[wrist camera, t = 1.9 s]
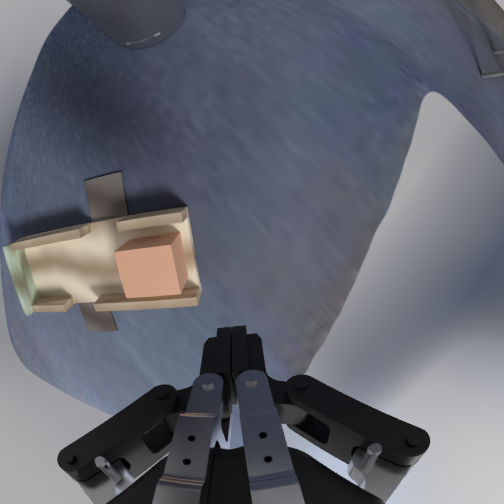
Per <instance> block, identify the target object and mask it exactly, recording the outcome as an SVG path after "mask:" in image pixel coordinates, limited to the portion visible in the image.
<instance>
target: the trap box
mask: <svg viewBox="0 0 504 504" xmlns="http://www.w3.org/2000/svg"><path fill="white" fill-rule="evenodd" d="M85 185H86V192H87V198H88V204H89V209H90V215H91V220H92V222H90V223H85V224H80V225H75V226H70V227H65V228H61V229H56V230H52V231H47V232H43V233H39V234H35V235H30V236H26V237H22V238H20V239H18V240H16V241H14V242H12V243H10V244H8V245H6V246H4V247H3V250H4V254H5V258H6V261H7V265H8V268H9V271H10V274H11V277H12V280H13V283H14V286H15V289H16V292H17V294H18V297H19V300H20V302H21V305H22V307H23V310H24V312H25V315H31V314H32V313H33V312H67V311H68V310H69V309H70V308H71V307H72V305H73V304H74V303H78V304H79V307H80V309H81V312H82V315H83V317H84V320H85V322H86V325H87V327H88V329H89V331H118V328H117V326H116V323H115V320H114V318H113V315H112V312H111V311H120V310H141V309H158V308H172V307H186V306H198V304H199V300H200V296H201V292H202V289H201V284H200V278H199V273H198V267H197V262H196V256H195V250H194V244H193V238H192V232H191V225H190V219H189V212H188V206H186V207H179V208H172V209H165V210H158V211H152V212H146V213H140V214H134V215H129V214H128V208H127V202H126V196H125V190H124V183H123V175H122V172H118V173H114V174H110V175H106V176H102V177H98V178H94V179H90V180H87V181H85ZM178 232H180V233H181V238H182V244H183V250H184V255H185V261H186V266H187V271H188V278H187V280H186V283H185V285H184V288H183V291H182V293H181V294H178V295H165V296H152V297H138V298H126V295H125V292H124V289H123V285H122V282H121V278H120V275H119V271H118V267H117V263H116V259H115V255H114V251H116V250H117V249H118V248H119V247H120V246H122V245H123V244H124V243H125V242H127V241H128V240H129V239H133V238H141V237H148V236H155V235H163V234H170V233H178Z"/></svg>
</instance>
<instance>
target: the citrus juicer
mask: <svg viewBox="0 0 504 504" xmlns="http://www.w3.org/2000/svg"><path fill="white" fill-rule="evenodd" d="M494 53H495V54H499V53H504V48H503V49H498V50H494ZM500 75H504V70H502V71H495V72H488V73H483V74H481V77H482V78H486V77H493V76H500Z"/></svg>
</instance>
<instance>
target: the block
mask: <svg viewBox="0 0 504 504" xmlns="http://www.w3.org/2000/svg"><path fill="white" fill-rule="evenodd" d="M114 255H115V259H116V263H117V267H118V271H119V275H120V278H121V282H122V285H123V289H124V292H125V295H126V298H138V297H152V296H165V295H178V294H181V293H182V291H183V288H184V285H185V283H186V280H187V278H188V271H187V266H186V261H185V255H184V250H183V244H182V238H181V233H180V232H178V233H170V234H163V235H155V236H148V237H141V238H133V239H129V240H128V241H127V242H125V243H124V244H123V245H122V246H120V247H119V248H118V249H117V250H116V251H114Z"/></svg>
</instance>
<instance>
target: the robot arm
mask: <svg viewBox="0 0 504 504" xmlns="http://www.w3.org/2000/svg"><path fill="white" fill-rule="evenodd" d="M67 1H68V2H69V3H70V4H72V5H73V6H74V7H75V8H77V9H78V10H79V11H80V12H82V13H83V14H84V15H85V16H86V17H88V18H89V19H90V20H91V21H92V22H94V23H95V24H96V25H97V26H98V27H99V28H101V29H102V30H103V31H104V32H105V33H106V34H107V35H109V36H110V37H111V38H112V39H113V40H114V41H115V42H117V43H118V44H119V45H120V46H122V47H125V48H129V49H141V48H146V47H149V46H152V45H155V44H157V43H159V42H161V41H163V40H164V39H166V38H167V37H169V36H170V35H171V34H172V33H174V32H175V31H176V30H177V28H178V27H179V26H180V25H181V23H182V21H183V19H184V16H185V12H186V11H185V4H184V1H183V0H67ZM237 399H238V403H239V408H240V422H241V429H242V436H243V443H244V446H243V447H239V448H235V449H230V436H231V425H232V414H231V413H232V405H233V404H237ZM160 421H161V422H160ZM159 422H160V423H159ZM281 423H282V424H287V426H288V427H289V428H290V429H291V430H293V431H294V432H296V433H297V434H299V435H300V436H302V437H303V438H305V439H307V440H308V441H310V442H311V443H313V444H314V445H316V446H318V447H319V448H321V449H323V450H324V451H326V452H328V453H330V454H331V455H333V456H334V457H336V458H338V459H340V460H342V461H343V462H345V463H347V464H349V465H348V475H349V476H350V477H351V479H353V480H354V481H355V482H356V483H357V484H358V486H357V485H355V484H353V483H351V482H350V481H348V480H347V479H345V478H343V477H342V476H340V475H339V474H337V473H335V472H334V471H332V470H331V469H329V468H328V467H326V466H324V465H323V464H321V463H320V462H318V461H317V460H316V459H314V458H313V457H311V456H310V455H308V454H306V453H305V452H303V451H300V450H298V449H295V448H291V447H287V443H286V440H285V436H284V432H283V429H282V425H281ZM156 424H157V425H156ZM155 425H156V426H155ZM152 427H153V428H152ZM151 428H152V429H151ZM147 431H148V432H147ZM146 432H147V433H146ZM429 444H430V437H429V435H428V433H427V432H426V431H425V430H423V429H421V428H419V427H416V426H414V425H411V424H409V423H407V422H404V421H402V420H399V419H397V418H395V417H392V416H390V415H388V414H385V413H383V412H381V411H379V410H377V409H374V408H372V407H370V406H368V405H366V404H364V403H362V402H360V401H358V400H355V399H354V398H351V397H349V396H347V395H345V394H343V393H341V392H339V391H337V390H335V389H334V388H332V387H330V386H327V385H326V384H324V383H322V382H320V381H318V380H316V379H314V378H313V377H311V376H308V375H296V376H293V377H291V378H290V379H288V380H287V382H285V381H277V380H274V379H272V378H271V377H269V376H268V375H267V373H266V368H265V361H264V354H263V347H262V340H261V338H260V337H259V336H258V334H257V333H255V334H247V330H246V325H244V326H234V327H232V328H231V327H223V328H218V329H217V337H213V338H208V340H207V341H206V342H205V343H204V348H203V355H202V362H201V369H200V376H198V377H197V378H196V379H195V380H194V382H193V385H192V386H190V387H188V388H185V389H181V390H177V391H176V389H175V388H174V387H173V386H171V385H159V386H156V387H154V388H153V389H151V390H150V391H149V392H147V393H146V394H144V395H143V396H142V397H140V398H139V399H137V400H136V401H134V402H133V403H132V404H130V405H129V406H127V407H126V408H124V409H123V410H122V411H120V412H119V413H117V414H116V415H114V416H113V417H111V418H110V419H108V420H107V421H105V422H104V423H103V424H101V425H99V426H98V427H96V428H95V429H93V430H92V431H90V432H89V433H87V434H86V435H84V436H83V437H81V438H79V439H78V440H76V441H75V442H73V443H71V444H70V445H69V446H67V447H65V448H64V449H62V450H61V451H60V452H59V455H58V458H57V461H58V464H59V466H60V467H61V468H62V469H63V470H64V471H65V472H66V473H67V474H69V475H70V476H71V478H72V479H74V480H75V481H76V482H78V483H79V484H80V486H81V487H82V488H83V490H84V491H85V493H86V494H87V495H88V497H89V498H90V499H91V501H92V502H93V503H94V504H385V502H386V501H387V500H388V498H389V497H390V496H391V494H392V493H393V492H394V490H395V489H396V488H397V486H398V485H399V483H400V482H401V480H402V479H403V478H404V476H405V475H406V474H407V473H408V472H409V471H410V470H411V469H412V467H413V466H414V465H415V464H416V463H417V462H418V460H419V459H420V458H421V457H422V455H423V454H424V453H425V452H426V450H427V449H428V447H429ZM168 452H169V455H168V456H166V457H165V458H164V459H162V460H160V461H159V462H158V463H157V464H156V465H155V466H153V467H152V468H151V469H150V470H149V471H147V472H146V473H145V474H144V475H142V476H141V477H140V478H139V479H138V480H136V481H135V478H136V477H137V476H139V475H140V474H141V473H143V472H144V471H145V470H147V469H148V468H149V467H150V466H152V465H153V464H154V463H155V462H156V461H158V460H159V459H161V458H162V457H163V456H164V455H165V454H166V453H168Z"/></svg>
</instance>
